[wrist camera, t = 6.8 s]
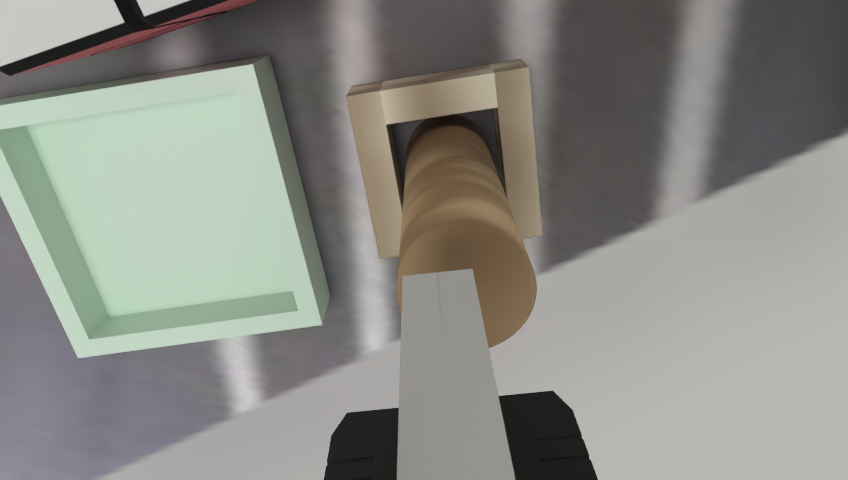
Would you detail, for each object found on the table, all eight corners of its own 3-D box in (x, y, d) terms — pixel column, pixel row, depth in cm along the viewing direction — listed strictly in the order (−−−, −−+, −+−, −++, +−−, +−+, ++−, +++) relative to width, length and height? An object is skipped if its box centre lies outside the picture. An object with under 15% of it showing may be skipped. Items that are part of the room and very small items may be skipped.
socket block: (520, 59, 28) (528, 67, 26) (533, 216, 31) (542, 235, 29) (352, 85, 28) (345, 96, 26) (382, 237, 32) (379, 258, 29)
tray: (269, 54, 28) (252, 64, 25) (330, 295, 33) (322, 325, 30) (4, 97, 29) (-40, 111, 26) (105, 326, 34) (78, 358, 31)
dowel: (482, 108, 29) (531, 219, 16) (491, 185, 31) (541, 342, 18) (400, 120, 29) (384, 240, 16) (413, 197, 31) (408, 359, 18)
